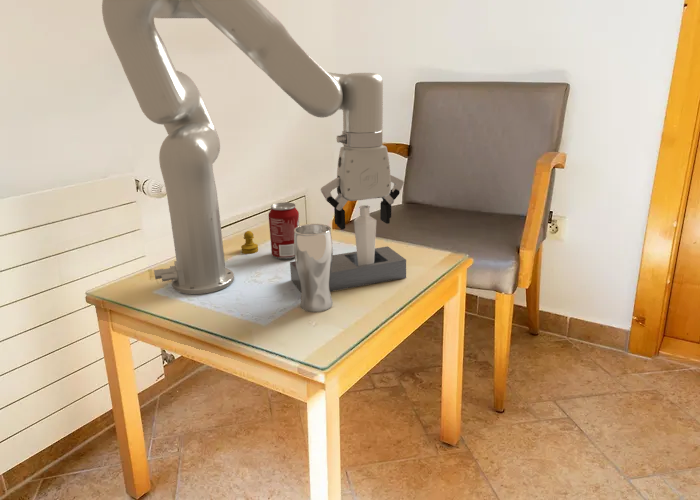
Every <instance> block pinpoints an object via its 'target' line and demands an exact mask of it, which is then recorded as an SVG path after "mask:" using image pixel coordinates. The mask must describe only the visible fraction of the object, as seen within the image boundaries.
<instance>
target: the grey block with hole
mask: <svg viewBox="0 0 700 500" xmlns="http://www.w3.org/2000/svg"><path fill="white" fill-rule="evenodd" d="M289 267H290V280H291V282H292V283H293V284H294V286H295V287H296V288H297V289H298V291H299V292H300V293H301V283H300V279H299V275H298V271H297V267H296V262H295V260H294V261H290V262H289ZM406 278H407V259H406V258H405V257H403V256H402V255H400V254H399V253H398V252H396V251H395V250H393V249H392V248H391V247H389V246H382V247H381V246H380V247H375V254H374V263H373V264H367V265H361V266H358V259H357V250H356V251H352V252H345V253H338V254H333V260H332V269H331V276H330V293H331V292H335V291H336V292H337V291H342V290H347V289H353V288H358V287H363V286H370V285H374V284H375V285H376V284H381V283H385V282H390V281H397V280H401V279H402V280H403V279H406Z"/></svg>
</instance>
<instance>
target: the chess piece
mask: <svg viewBox="0 0 700 500" xmlns="http://www.w3.org/2000/svg"><path fill="white" fill-rule="evenodd" d="M254 238H255V236H254V233H253V232H252V231H250V230H247V231H245V232H244V234H243V239H244V240H245V242H244V244H243V245H241V246H240V247H241V253H242V254H245V255H253V254H256V253H258V252H259V245H258V244H257V243H255V242H254V240H253V239H254Z"/></svg>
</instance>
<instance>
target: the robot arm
mask: <svg viewBox="0 0 700 500" xmlns="http://www.w3.org/2000/svg"><path fill="white" fill-rule="evenodd" d="M101 3H102V4H101V9H102V10H101V13H102V20H103V25H104V28H105V30H106V33H107V36H108V38H109V40H110V42H111V45H112V46H113V49H114V51H115V53H116V56H117V57H118V59H119V62H120V64H121V66H122V69H123V71H124V75H125V76H126V78H127V81H128V82H129V86H130V88H131V89H132V91H133V94H134V95H135V99H136V101H137V102H138V104H139V108H140V109H141V112H142V113H143V115H144V116H145V118H147V119H148V120H149V121H150V122H152V123H155V124H157V125H163V127H164V129H165V131H166V132H167V133H166V134H167V136H166V137H165V138H164V140H163V142H162V143H161V146H160V148H159V154H158V161H159V169H160V172H161V175H162V179H163V183H164V186H165V192H166V197H167V204H168V213H169V216H170V223H171V230H172V239H173V246H174V252H175V259H176V260H174V261H173V262H174V265H170V266H169V268H161V269H160V268H159V269H154V270H153V272H154V273H153V274H154V279H155V280H160V279H161V281H162V282H169V281H171V288H172V289H173V290H174V291H176V292H178V293H180V294H187V295H201V294H208V293H214V292H218V291H220V290H224V289H225V288H227V287H229V286H230V285H231V284H233V283H234V281H235V275H234V274H235V273H234V272H233V271H232V270H231V269H230V268H227V267H226V261H225V252H224V243H223V242H224V241H223V233H222V226H221V225H222V223H221V215H220V206H219V199H218V198H219V197H218V190H217V185H216V180H215V175H214V165H213V164H214V163H215V162H216V160H217V159H218V157H219V156H220V155H219V154H220V150H221V141H220V138H219V135H218V132H217V129H216V127H215V124H214V122H213V120H212V118H211V114H210V112H209V110H208V108H207V106H206V103H205V102H204V99H203V97H202V94H201V93H200V90H199V88H198V86H197V85H196V83H195V82H194V81H193V79H192V78H191V77H190V76H188V75H187V74H186V73H184V72H182V71H179V70H176V68H175V66H174V63H173V62H172V59H171V57H170V55H169V52H168V50H167V47H166V45H165V43H164V41H163V39H162V37H161V35H160V34H159V32H158V30H157V27H156V25H155V19H206V20H207V21H209V22H210V23H211V24H212V25H213V26H214V27H215V28H216V29H218V31H219V32H221V33H222V34H223V35H224V36H225V37H227V39H228V40H230V42H232V43H233V44H234V45H235V46H236V47H237V48H238V49H239V50H240V51H241V52H242V53H244V54H245V56H246V57H248V58H249V59H250V60H251V61H252V62H253V63H254V64H255V66H257V68H258V69H260V70H261V71H262V72H264V73H265V74H266V75H267V76H268V77H269V78H270V79H271V80H272V81H273V82H274V83H275V84H276V85H277V86H278V87H279V88H280V89H281V90H282V91H283V92H284V93H285V94H286V95H287V96H289V97H290V98H291V100H293V101H294V102H296V104H297V105H299V106H300V107H301V108H302V109H303V110H304V111H306V112H307V113H308V114H310V116H311V115H312V116H313V117H315V118H328V117H331V116H333V115H334V114H336V112H338V111H340V110H341V111H342V115H343V116H342V121H343V123H342V129H343V130H342V131H341V132H342V133H341V134H340V135H336V143H339V144H342V145H343V146H340V148H339V155H338V160H337V170H336V178H334V179H333V180H331V181H329V182H328V183H326V184H324V185H323V186H322V187H320V192H321V193H322V195H323V197H324V199H325V201H326V202H327V203H329V205H331V206H332V207H333V208H334V224H335V225H336V226H337V227H338V228H339V229H340V230H345V229H346V210H345V209H344V207H345V205H347V203H348V202H354V201H355V202H356V201H357V202H358V201H365V200H366V201H367V200H374V199H375V200H376V199H382V200H381V201H380V206H379V207H380V208H379V209H380V216H379V217H380V221H381V222H383V223H385V224H387V225H389V224H390V223H391V222H390V221H391V218H392V205H393V204H394V202H395V200H396V198H397V197H398V196H399V195H400V191H401V190H402V188H403V187H404V183H405V181H404V180H403V179H400V178H399V177H396V176H394V175H391V167H390V166H391V165H390V158H389V152H388V147H387V146H386V145H384V144H383V129H384V128H383V127H384V126H383V121H384V120H383V117H384V116H383V113H384V112H383V111H384V110H383V109H384V106H383V105H384V101H383V99H384V98H383V97H384V96H383V95H384V91H383V90H384V87H383V86H384V83H383V77H382V76H381V75H380V74H378V73H374V72H352V73H347V74H346V73H336V72H335V73H333V72H328V71H326V70H325V69H324V68H323V67H322V66H321V65H320V64H318V63H317V61H315V59H313V58H312V57H311V56H310V55H309V54H308V53H307V52H306V51H305V50H304V49H303V48H302V47H301V46H300V44H298V43H297V42H296V40H295V39H294V38H293V37H292V35H291V34H290V33H289V31H288V29H287V28H286V27H285V25H284V24H283V23H282V22H281V21H280V20H279V19H278V18H277V17H276V16H275V15H274V14H273V13H271V11H269V9H267V8H266V7H265V6H264V5H263V4H262V3H261V2H260V1H259V0H102V2H101ZM392 183H393V186H392ZM334 189H336V193H337V196H336V197H335V198H334V197H333V195H332V193H331V192H332V191H333V190H334Z"/></svg>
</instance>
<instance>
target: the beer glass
mask: <svg viewBox="0 0 700 500" xmlns="http://www.w3.org/2000/svg"><path fill="white" fill-rule="evenodd" d="M332 239H333V238H332V232H331V227H330V226H329V225H328V224H327V225H326V224H323V223H306V224H301V225H299V226H298V227H296V228H295V229H294V254H295V258H294V261H295V262H296V267H297V271H298V275H299V279H300V283H301V292H300V293H301V294H300V301H299V302H300V303H299V306H300V308H301V309H302V310H303V311H305V312H310V313H321V312H325V311H327V310H329V309H331V307H333V305H334V304H333V299H332V295H331V292H330V276H331V269H332V260H333V255H334V254H333V253H334V252H333V251H334V249H333V240H332Z"/></svg>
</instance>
